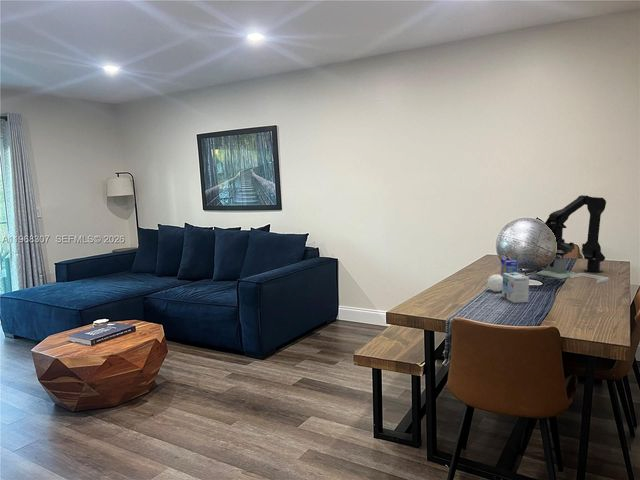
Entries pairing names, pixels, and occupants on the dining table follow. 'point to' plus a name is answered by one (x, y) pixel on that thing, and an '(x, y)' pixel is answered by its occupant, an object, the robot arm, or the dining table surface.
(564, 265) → the grey box with tab
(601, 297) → the dining table surface
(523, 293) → the light bulb box
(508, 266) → the ink cartridge box
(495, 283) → the white rounded piece
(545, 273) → the tray
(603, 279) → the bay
